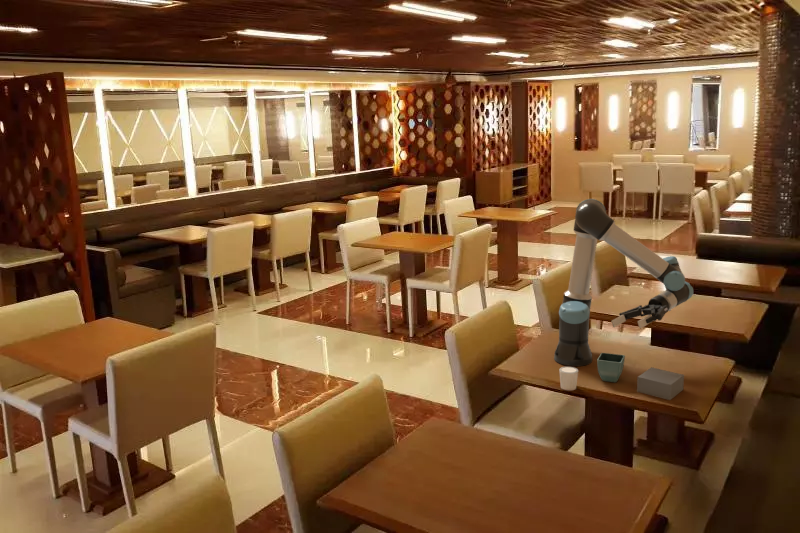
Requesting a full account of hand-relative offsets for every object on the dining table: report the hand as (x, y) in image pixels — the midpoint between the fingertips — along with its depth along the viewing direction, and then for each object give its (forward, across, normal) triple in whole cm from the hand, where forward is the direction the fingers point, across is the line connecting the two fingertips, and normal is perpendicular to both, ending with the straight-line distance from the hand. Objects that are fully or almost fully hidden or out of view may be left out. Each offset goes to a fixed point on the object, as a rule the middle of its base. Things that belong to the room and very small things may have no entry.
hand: (625, 324), depth 257 cm
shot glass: (+32, +4, -12) cm, 35 cm away
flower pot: (+15, +1, -17) cm, 22 cm away
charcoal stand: (+8, -15, -22) cm, 28 cm away
